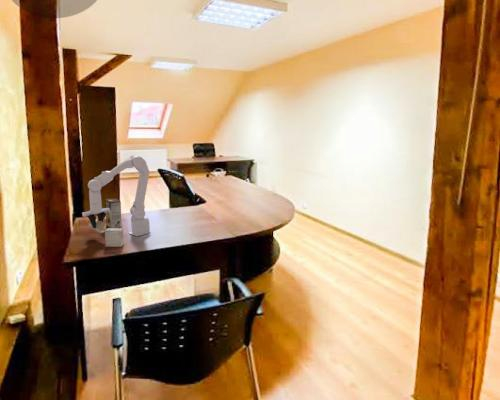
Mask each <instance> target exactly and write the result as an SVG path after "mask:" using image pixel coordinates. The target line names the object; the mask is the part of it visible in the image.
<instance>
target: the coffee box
mask: <svg viewBox="0 0 500 400" xmlns="http://www.w3.org/2000/svg"><path fill="white" fill-rule="evenodd" d="M104 204H105V205H104V207H105V208H110V212H105V214H106V216H105V223H106V227H107V226H108V228H122V226H123V225H122V203H121V200H119V199H117V198H106V199H104Z"/></svg>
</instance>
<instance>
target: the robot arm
mask: <svg viewBox="0 0 500 400" xmlns="http://www.w3.org/2000/svg"><path fill="white" fill-rule="evenodd" d="M126 169H136V170H137V172H138V173H139V174H138V180H137V188H136V192H135V197H134V201H133V203H132V206H131V208H130V209H129V212H130V214H131V217H130V220H131V221H130V222H131V231H129V232H128V234H130V235H132V236H135V237H139V236H142V235H147V234H151V230H150V220H149V218H148V217H147V216H146V211H145V198H146V194H147V188H148V182H149V177H150V169H149V167H148V165H147V161H146V160H145V159H144V158H143V157H141V156H139V155H136V154H133V155H131V156H130V157H127V158H126V159H124V160H123V161H121V162H120V163H119V164H117V166H115V167H113V168H112V169H111V170H105V171H101V174H100V175H98V176H95V177H94V178H93V179H91V180H89V181H88V183H87V188H88V190H89V191H88V196H89V197H88V199H89V210H88V211H85V212H83V211H82V212H81V214H82V217H83V218H85V217H87V218H88V220H90V222H91V224H92V227H93V228H96V219H97V220H100V221H103V222H104V220H105V219H106V212H110V208H104V207H103V206H102V194H101V190H102V187H104V186H106V185H107V184H108V183H110V182H111V181H113V180H114V177H115V176H117V175H118V174H120V173H121V172H122V171H124V170H126Z"/></svg>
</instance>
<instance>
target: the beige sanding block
mask: <svg viewBox="0 0 500 400" xmlns="http://www.w3.org/2000/svg"><path fill="white" fill-rule="evenodd" d="M88 228H89V230H92V231H95V232H98V233H105V230H106V229H107V224H106V221H105V222H104V220H103V221H100V220H98V218H96V228H93V227H92V224H91V222H90V220H89V219H88Z"/></svg>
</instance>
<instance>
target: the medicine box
mask: <svg viewBox="0 0 500 400" xmlns="http://www.w3.org/2000/svg"><path fill="white" fill-rule="evenodd" d="M123 229H124V228H121V227H118V228H110V227H108V228H106V230H105V232H104V240H105V247H107V248H108V247H110V248H111V247H112V248H113V247H115V248H116V247H117V248H119V247H121V248H122V246H123V245H124V230H123Z"/></svg>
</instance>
